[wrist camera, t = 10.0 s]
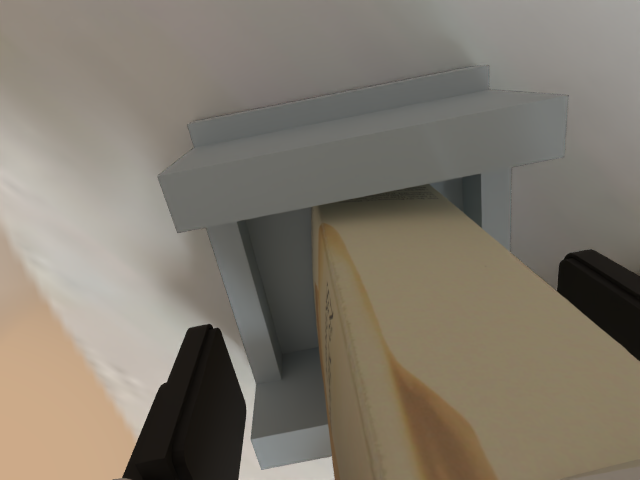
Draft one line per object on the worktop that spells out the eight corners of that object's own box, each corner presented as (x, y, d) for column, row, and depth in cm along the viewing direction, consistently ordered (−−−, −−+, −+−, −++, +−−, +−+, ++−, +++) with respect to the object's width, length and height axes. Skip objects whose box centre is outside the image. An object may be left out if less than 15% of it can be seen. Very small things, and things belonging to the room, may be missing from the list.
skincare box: (308, 183, 14) (400, 664, 3) (429, 177, 14) (999, 592, 3) (314, 334, 16) (373, 911, 5) (416, 327, 17) (690, 860, 5)
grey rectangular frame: (475, 65, 14) (570, 61, 9) (480, 340, 18) (544, 429, 14) (194, 121, 14) (146, 144, 9) (271, 381, 18) (266, 484, 14)
